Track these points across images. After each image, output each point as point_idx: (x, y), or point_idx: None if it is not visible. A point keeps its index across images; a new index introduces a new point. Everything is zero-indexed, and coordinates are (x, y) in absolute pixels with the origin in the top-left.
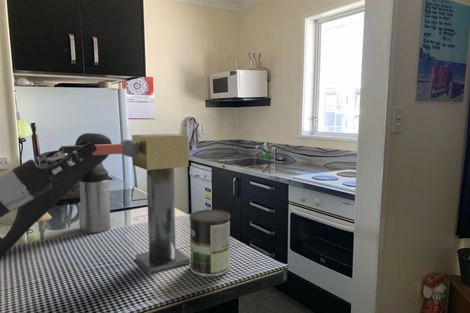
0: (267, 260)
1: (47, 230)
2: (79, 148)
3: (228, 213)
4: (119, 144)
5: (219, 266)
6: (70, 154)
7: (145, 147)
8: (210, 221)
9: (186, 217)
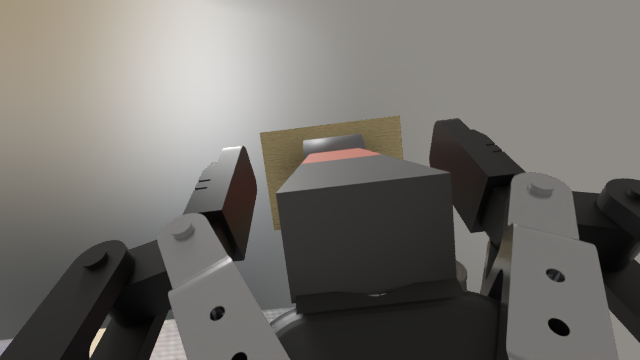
0: None
1: None
2: (487, 161)
3: None
4: (350, 149)
5: None
6: (571, 217)
7: (393, 150)
8: (466, 273)
9: (174, 324)
